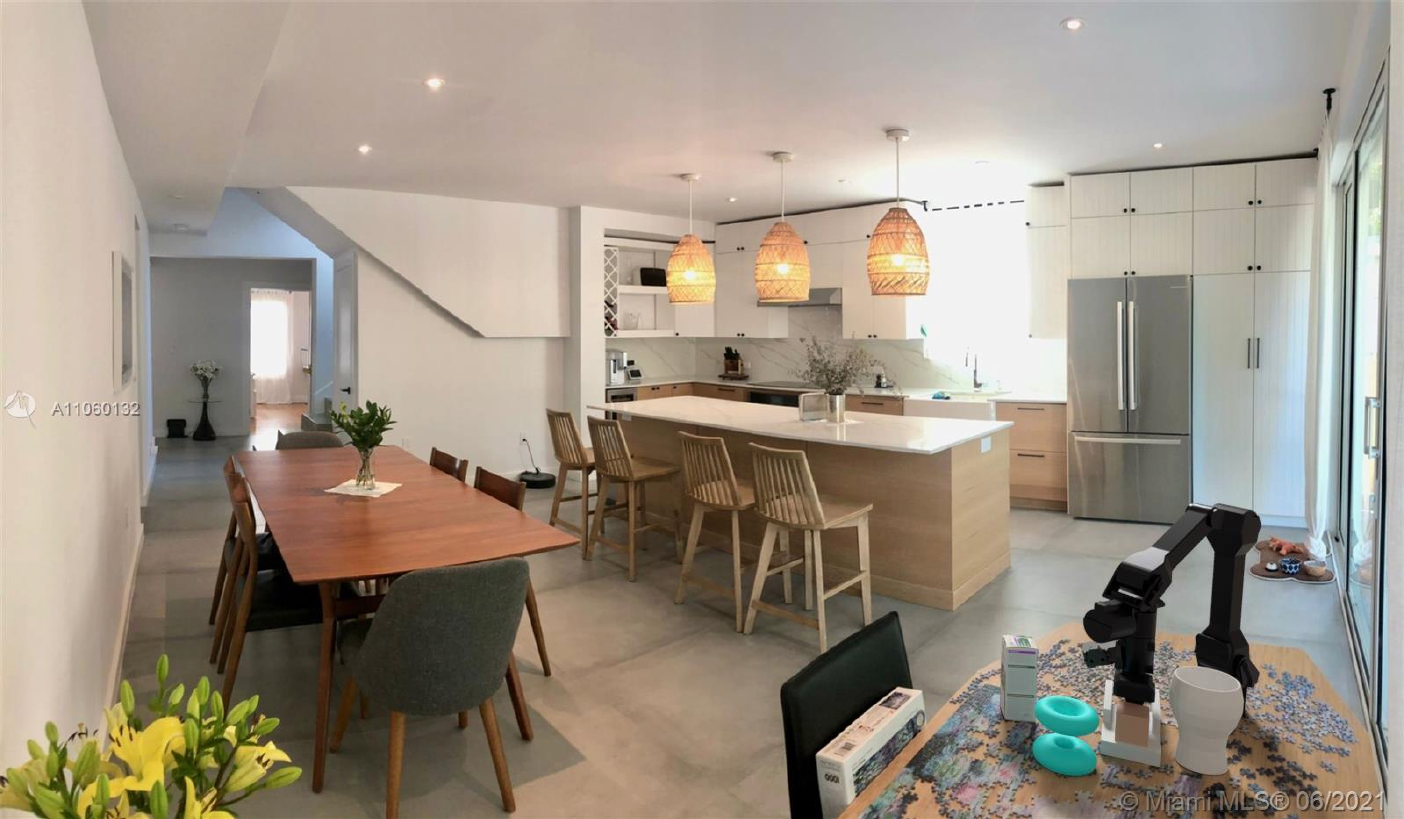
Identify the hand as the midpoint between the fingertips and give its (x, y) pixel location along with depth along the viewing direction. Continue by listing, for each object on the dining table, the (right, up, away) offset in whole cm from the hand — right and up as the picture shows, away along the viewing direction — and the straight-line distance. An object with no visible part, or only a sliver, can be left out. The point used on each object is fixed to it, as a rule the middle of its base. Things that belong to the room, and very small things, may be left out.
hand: (1131, 716), depth 145 cm
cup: (+8, -5, -7) cm, 12 cm away
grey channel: (+1, -4, +3) cm, 5 cm away
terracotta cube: (-2, -2, -4) cm, 5 cm away
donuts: (-15, -5, -7) cm, 17 cm away
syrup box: (-17, -3, +9) cm, 19 cm away
